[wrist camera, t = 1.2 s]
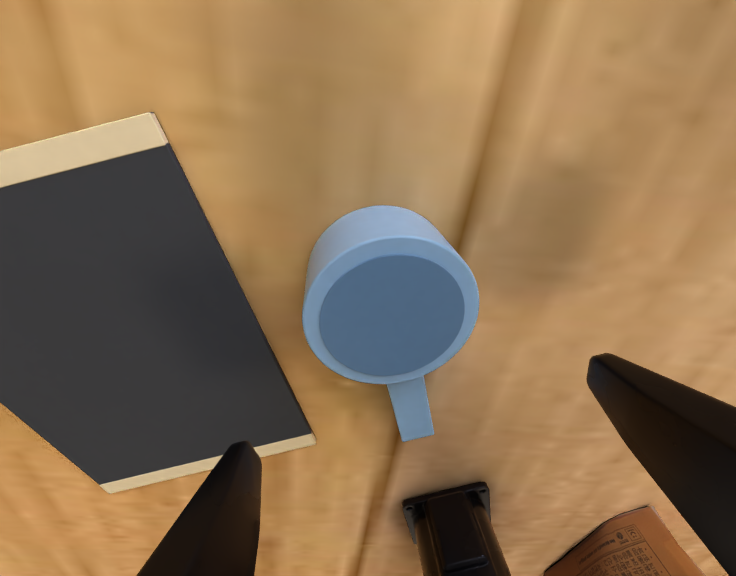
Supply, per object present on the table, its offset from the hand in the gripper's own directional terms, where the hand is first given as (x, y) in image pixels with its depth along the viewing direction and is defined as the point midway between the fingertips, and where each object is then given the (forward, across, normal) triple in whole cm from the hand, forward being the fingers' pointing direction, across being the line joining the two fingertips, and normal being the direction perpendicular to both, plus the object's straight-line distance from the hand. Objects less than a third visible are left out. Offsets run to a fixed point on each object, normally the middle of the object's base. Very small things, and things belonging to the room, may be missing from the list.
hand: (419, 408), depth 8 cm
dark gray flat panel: (+7, +12, +1) cm, 15 cm away
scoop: (+7, 0, +3) cm, 8 cm away
